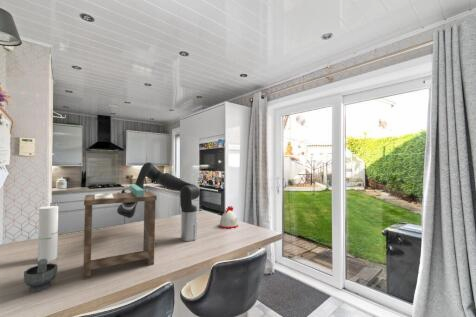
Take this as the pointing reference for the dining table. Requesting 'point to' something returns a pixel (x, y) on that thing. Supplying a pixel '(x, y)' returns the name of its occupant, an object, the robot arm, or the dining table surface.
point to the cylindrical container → (48, 233)
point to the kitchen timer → (228, 219)
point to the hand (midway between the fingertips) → (132, 190)
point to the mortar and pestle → (40, 275)
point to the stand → (108, 261)
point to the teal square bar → (137, 191)
